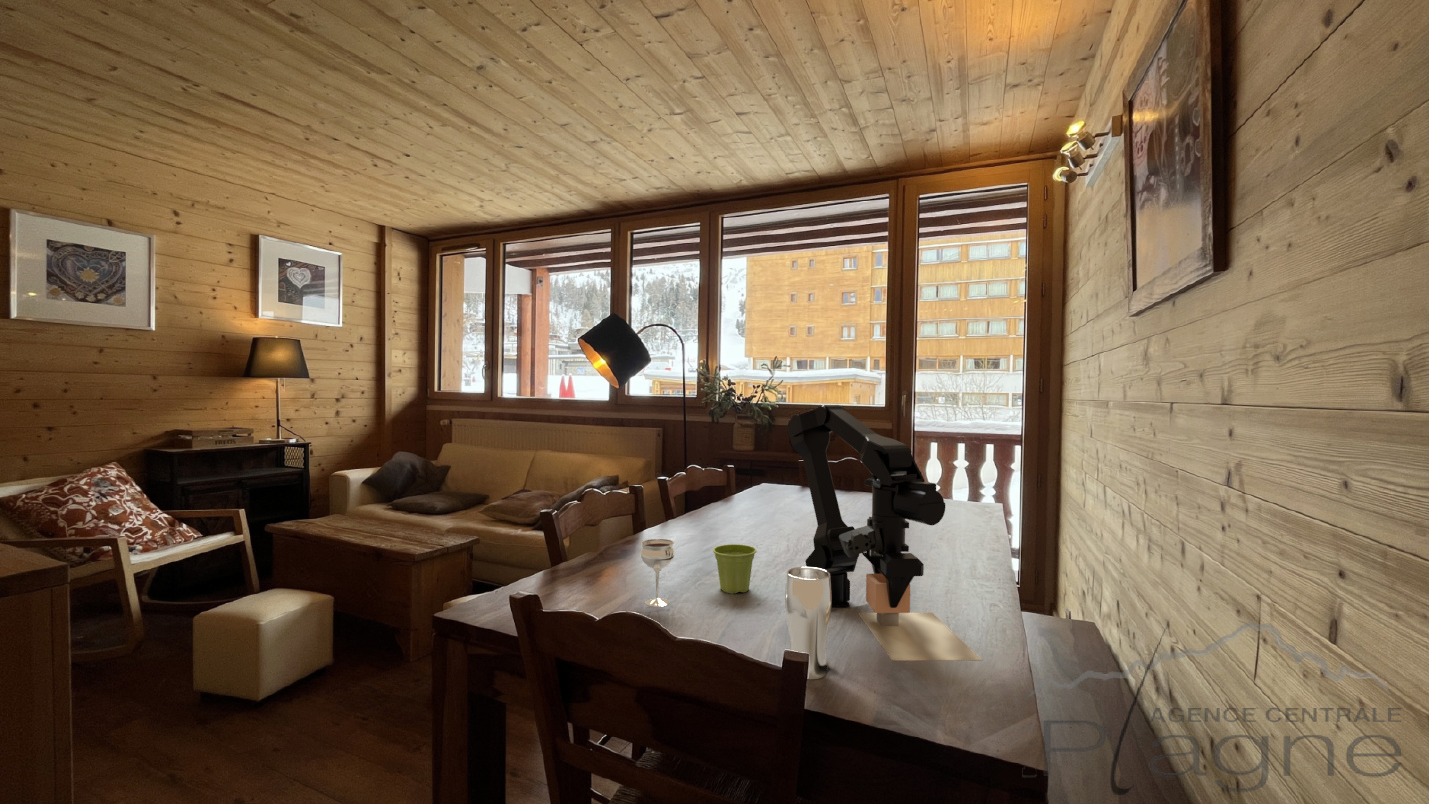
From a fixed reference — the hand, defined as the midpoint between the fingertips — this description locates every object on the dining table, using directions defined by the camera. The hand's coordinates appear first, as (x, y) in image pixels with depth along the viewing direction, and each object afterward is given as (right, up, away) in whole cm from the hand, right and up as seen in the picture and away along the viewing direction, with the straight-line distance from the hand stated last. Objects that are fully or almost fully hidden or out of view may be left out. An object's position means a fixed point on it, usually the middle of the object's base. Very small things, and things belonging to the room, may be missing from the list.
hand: (887, 601), depth 108 cm
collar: (0, -1, 0) cm, 1 cm away
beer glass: (-17, -6, -15) cm, 23 cm away
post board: (+3, -6, -5) cm, 8 cm away
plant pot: (-27, -5, +22) cm, 35 cm away
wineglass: (-42, -5, +14) cm, 45 cm away
